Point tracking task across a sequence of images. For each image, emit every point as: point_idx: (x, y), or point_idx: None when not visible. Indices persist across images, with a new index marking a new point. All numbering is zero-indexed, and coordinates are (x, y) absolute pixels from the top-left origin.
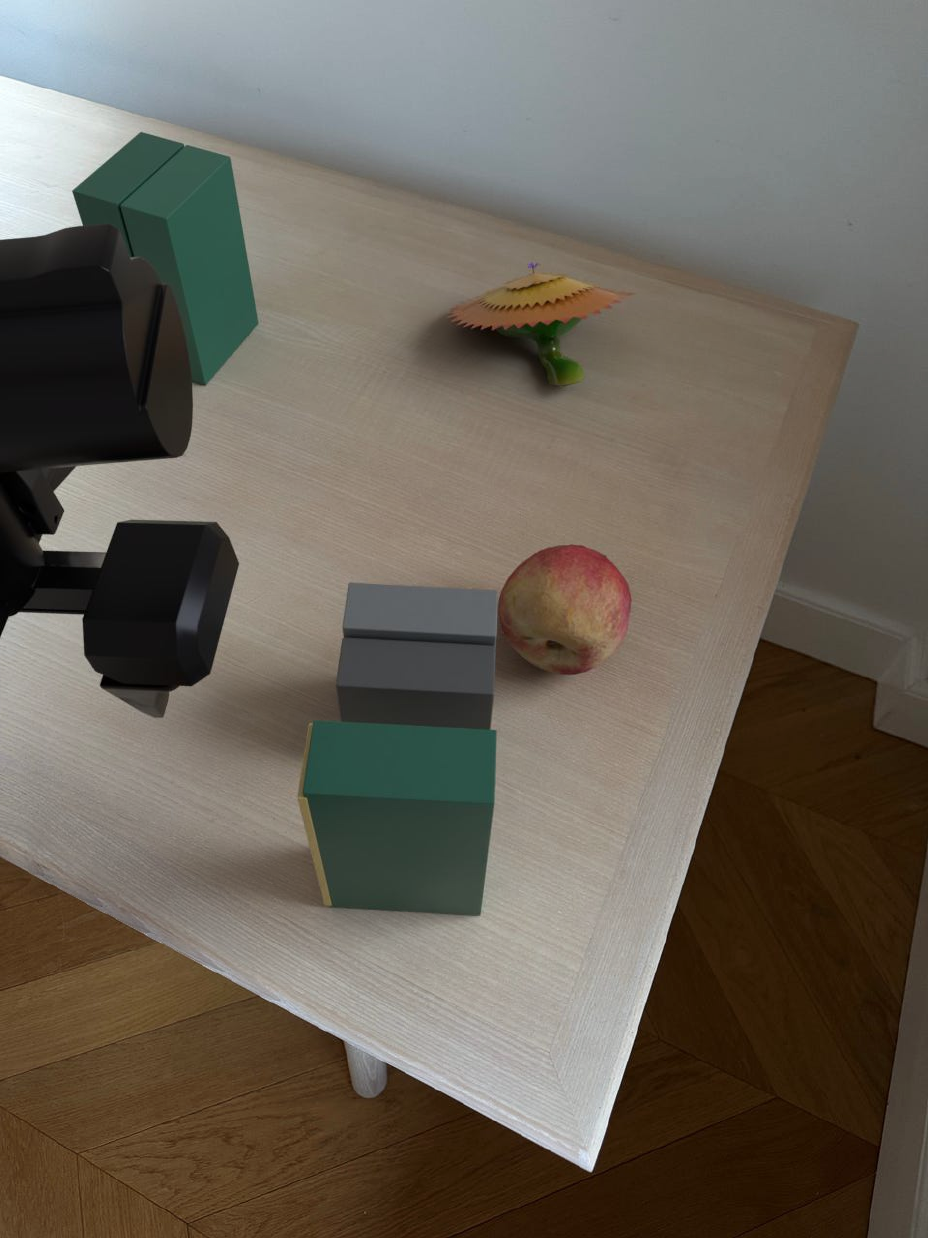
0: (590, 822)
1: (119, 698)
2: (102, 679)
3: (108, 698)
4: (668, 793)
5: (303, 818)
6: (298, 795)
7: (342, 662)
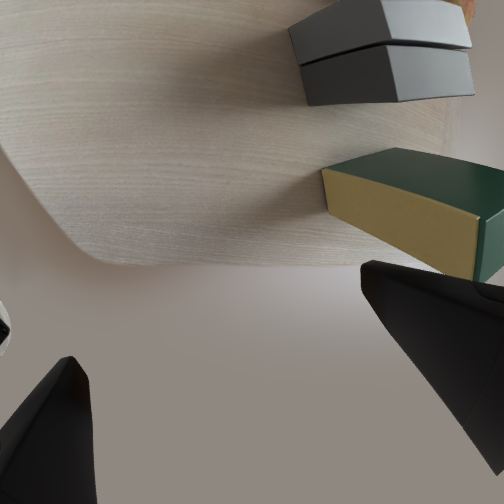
0: (432, 115)
1: (456, 417)
2: (500, 471)
3: (83, 117)
4: None
5: (440, 271)
6: None
7: (394, 74)
